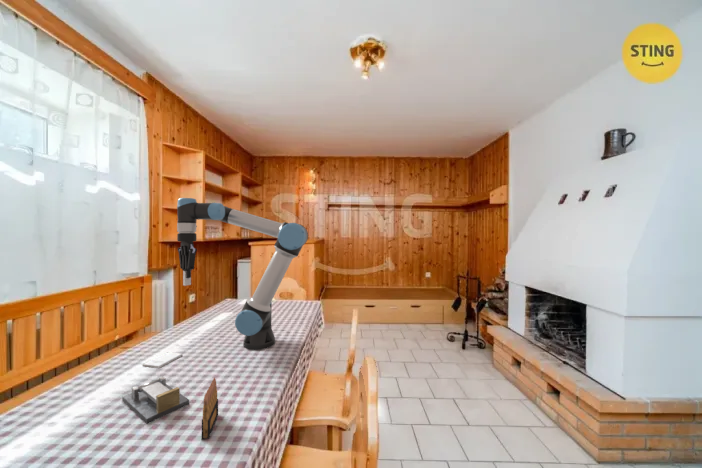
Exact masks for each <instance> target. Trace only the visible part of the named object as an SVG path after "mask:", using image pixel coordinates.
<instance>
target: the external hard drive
mask: <svg viewBox="0 0 702 468" xmlns="http://www.w3.org/2000/svg"><path fill="white" fill-rule="evenodd" d="M181 357H183V354H182V353H177V352H169V351H168V352H166V353H163V354H161V355H159V356H157V357H155V358H153V359H150V360H149V361H147V362H145V363H143V364H141V365H142V367H144V368H152V369H153V368H154V369H160V368H162V367H164V366H166V365H168V364H170V363H172V362H173V361H175V360H177V359H179V358H181Z"/></svg>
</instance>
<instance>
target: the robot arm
mask: <svg viewBox="0 0 702 468" xmlns="http://www.w3.org/2000/svg"><path fill="white" fill-rule="evenodd" d="M176 210H177V225H176V230H177V236H176V237H177V239H176V240H177V242H179V243H180V247H177V252H178V258H179V267H180V270H182V286H184V287H186V286H191V285H192V271H193V270H194V269H195V264H196V263H195V261H196V254H197V251H198V249H197V248H196V247H194V246H195V245H194V242H196V241H197V233H196V232H197V227H198V225H197V220H206V221H219V222H223V223H224V224H225V223H226V224H230V225H233V226H236V227H241V228H243V229H245V230H250V231H254V232H256V233H261V234H264V235H266V236H270V237H274V238H276V241H275V243H274V245H273V246H274V249H275V251H274V253H273V254H272V257H271V259H270V261H269V262H268V264H267V267H266V269H265V271H264V272H263V275H262V277H261V279H260V281H259V282H258V285H257V286H256V289H255V291H254V293H253V294H252V296H251V297H249V298H247V299H246V301H245V303H244V304H243V307H242V309H241V311H240V312H238V313H237V315H236V317H235V319H234V326H235V328H236V330H237V332H239V333H240V334H242V335H243V336H244V339H243V348H244V349H246V350H250V351H251V350H252V351H258V350H259V351H260V350H265V349H269V348H271V347H273V346H274V345H275V344H276V337H275V335H274V331H273V328H272V306H273V303H272V301H273V299H274V298H275V295H276V293H277V291H278V289H279V287H280V285H281V283H282V281H283V278H284V277H285V274H286V273H287V270H288V269H289V267H290V265H291V263H292V260H293V259H294V258H298V257H299V254H300V252H301V250H302V249H303V247H304V245H306V243H307V242H308V239H309V231H308V230H307V229H306V227H305V226H303V224H300V223H297V222H286V221H284V222H278V221H276V220H273V219H268V218H264V217H261V216H258V215H255V214H252V213H248V212H244V211H241V210H238V209H234V208H231V207H228V206H226V205H224V204H223V203H220V202H198V201H197V199H196V198H192V197H179V198H178V199H177V206H176Z"/></svg>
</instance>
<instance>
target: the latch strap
mask: <svg viewBox="0 0 702 468" xmlns="http://www.w3.org/2000/svg"><path fill="white" fill-rule="evenodd" d="M137 387H138V388H139V393H140V392H143V393H144V394H145V395H146V396H147V397H149V398H150V399H151V400H152V401H153V402H155V403H156V396H157V395H159V394H161V393H164V392H166V391H169V389H168V388H167V387H165V386H164V385H162V384H161V383H160V380H159V378H158V379H156V380H153V381H151V382H150V381H149V382H147V383H144V384H142V385H139V386H137Z"/></svg>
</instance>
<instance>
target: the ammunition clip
mask: <svg viewBox="0 0 702 468" xmlns="http://www.w3.org/2000/svg"><path fill="white" fill-rule="evenodd" d="M217 388H218V387H217V379H216V378H215V377H213V379H212V380H211V383H210V384H209V387H208V389H206V392H205V394H204V398H203V408H202V419H201V440H209V439H210V437H211V435H212V432H213V429H214V427H215V424H216V421H217V419H218V417H219V398H218V389H217Z"/></svg>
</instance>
